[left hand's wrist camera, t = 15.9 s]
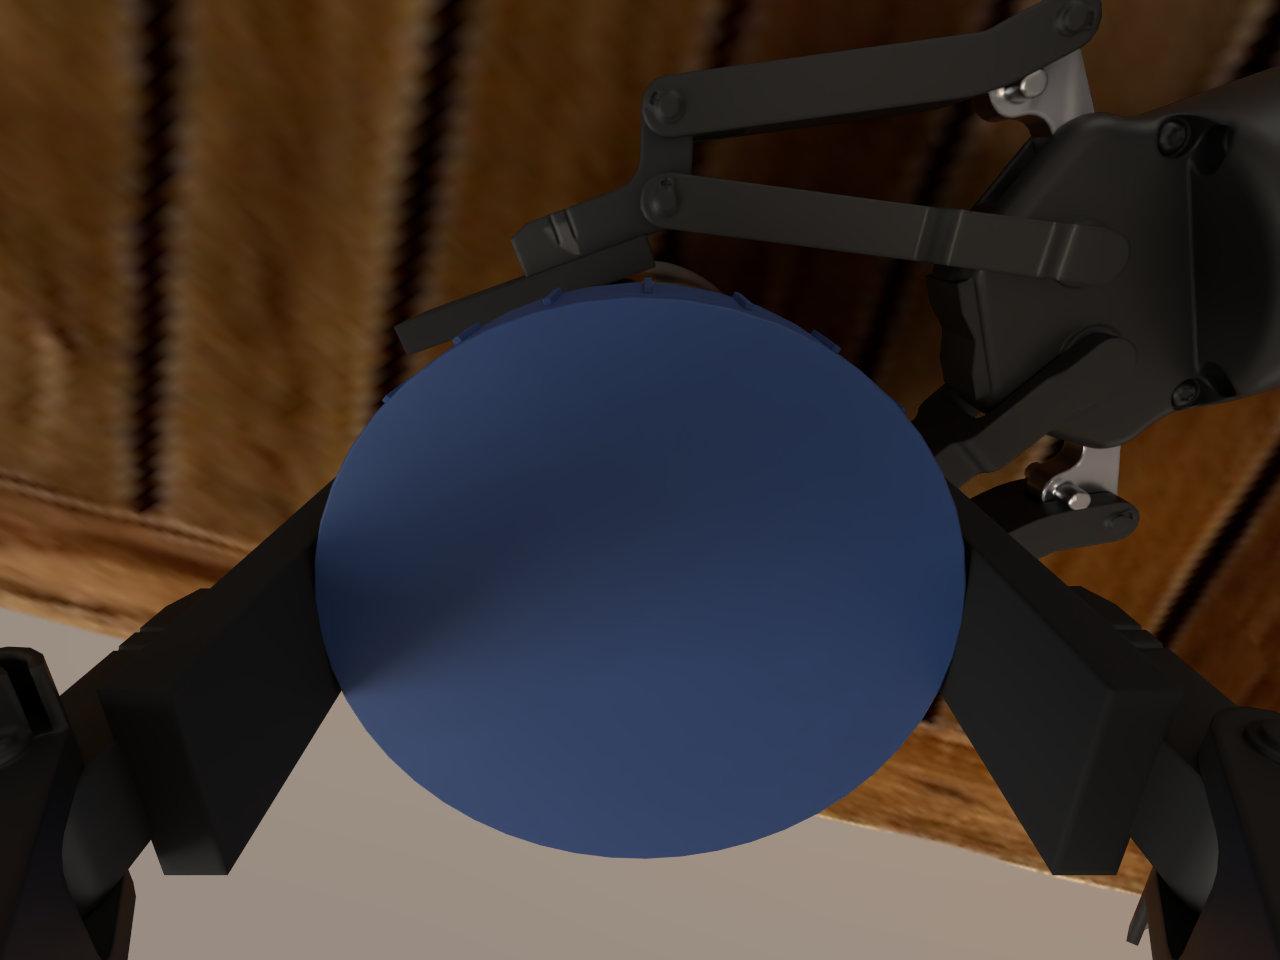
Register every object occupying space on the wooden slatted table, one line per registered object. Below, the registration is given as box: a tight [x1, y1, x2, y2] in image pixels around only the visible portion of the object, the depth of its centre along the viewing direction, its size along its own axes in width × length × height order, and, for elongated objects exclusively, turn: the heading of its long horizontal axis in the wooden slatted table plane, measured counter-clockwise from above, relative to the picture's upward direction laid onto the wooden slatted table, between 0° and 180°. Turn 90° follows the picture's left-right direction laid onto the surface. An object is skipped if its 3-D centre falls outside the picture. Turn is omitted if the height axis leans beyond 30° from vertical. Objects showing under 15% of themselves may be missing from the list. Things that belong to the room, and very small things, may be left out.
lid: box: [315, 278, 966, 859], centre depth 11 cm, size 10×10×2 cm
